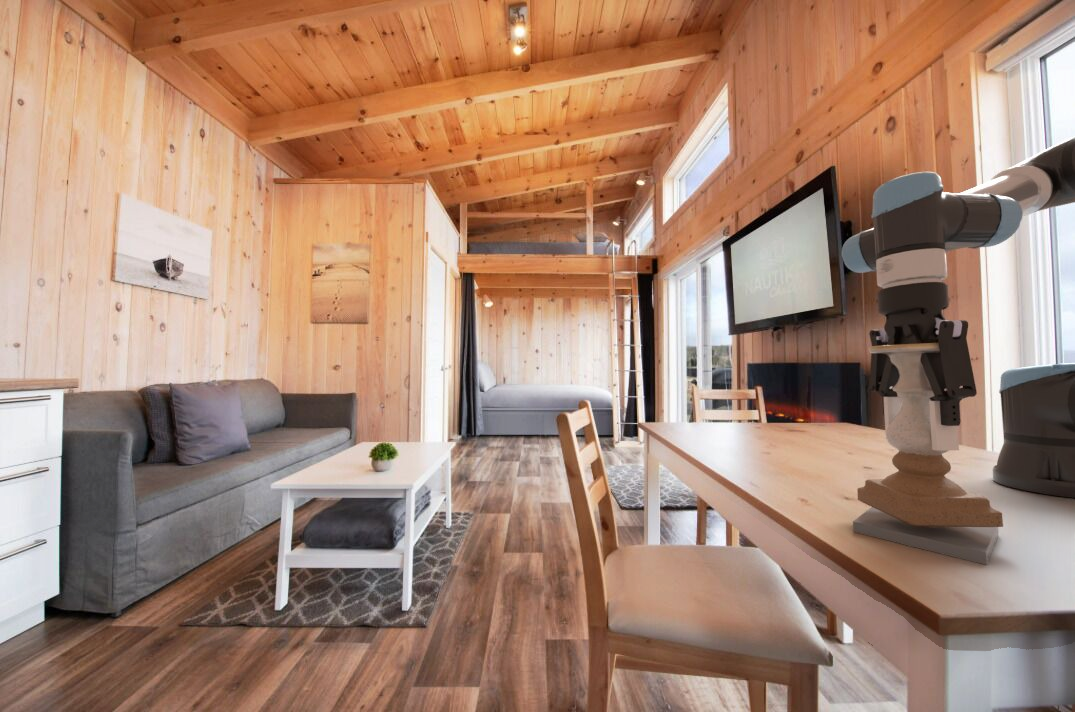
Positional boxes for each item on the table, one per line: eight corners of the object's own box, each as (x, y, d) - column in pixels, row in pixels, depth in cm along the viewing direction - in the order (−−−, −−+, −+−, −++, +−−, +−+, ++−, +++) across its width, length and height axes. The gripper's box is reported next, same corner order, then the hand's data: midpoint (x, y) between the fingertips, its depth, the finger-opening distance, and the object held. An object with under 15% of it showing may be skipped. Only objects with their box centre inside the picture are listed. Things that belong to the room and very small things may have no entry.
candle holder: (855, 499, 64) (848, 347, 64) (931, 499, 63) (922, 345, 63) (913, 526, 53) (903, 343, 54) (1006, 527, 52) (994, 340, 52)
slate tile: (879, 511, 67) (878, 502, 67) (998, 535, 56) (997, 524, 56) (853, 531, 59) (852, 521, 59) (986, 564, 48) (985, 552, 48)
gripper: (837, 298, 69) (844, 433, 68) (948, 269, 49) (959, 460, 48) (883, 296, 69) (891, 432, 68) (1015, 266, 48) (1027, 459, 48)
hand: (919, 444), depth 58 cm, fingers closed on candle holder, 7 cm apart
